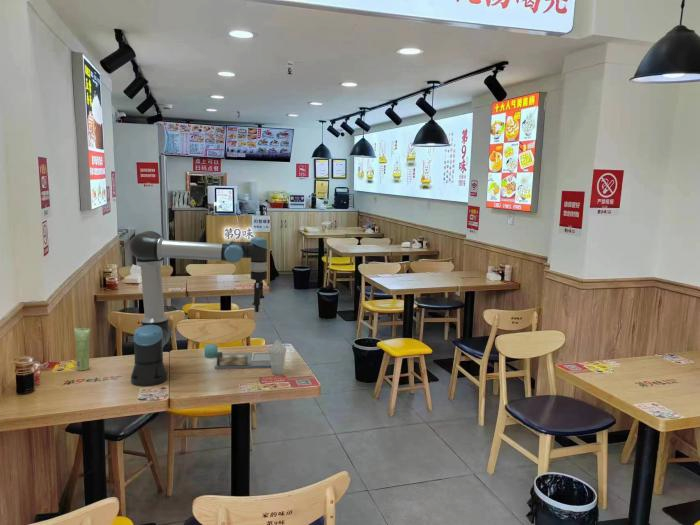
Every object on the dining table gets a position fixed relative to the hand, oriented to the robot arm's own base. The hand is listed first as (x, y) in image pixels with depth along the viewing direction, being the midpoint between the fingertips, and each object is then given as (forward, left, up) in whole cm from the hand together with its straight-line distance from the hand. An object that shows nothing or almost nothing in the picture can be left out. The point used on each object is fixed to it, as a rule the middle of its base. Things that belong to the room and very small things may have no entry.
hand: (258, 315), depth 244 cm
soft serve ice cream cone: (+9, -8, -26) cm, 29 cm away
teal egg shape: (-24, +20, -26) cm, 41 cm away
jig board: (-5, +10, -26) cm, 28 cm away
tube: (-80, +4, -26) cm, 84 cm away
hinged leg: (-12, +2, -24) cm, 27 cm away
